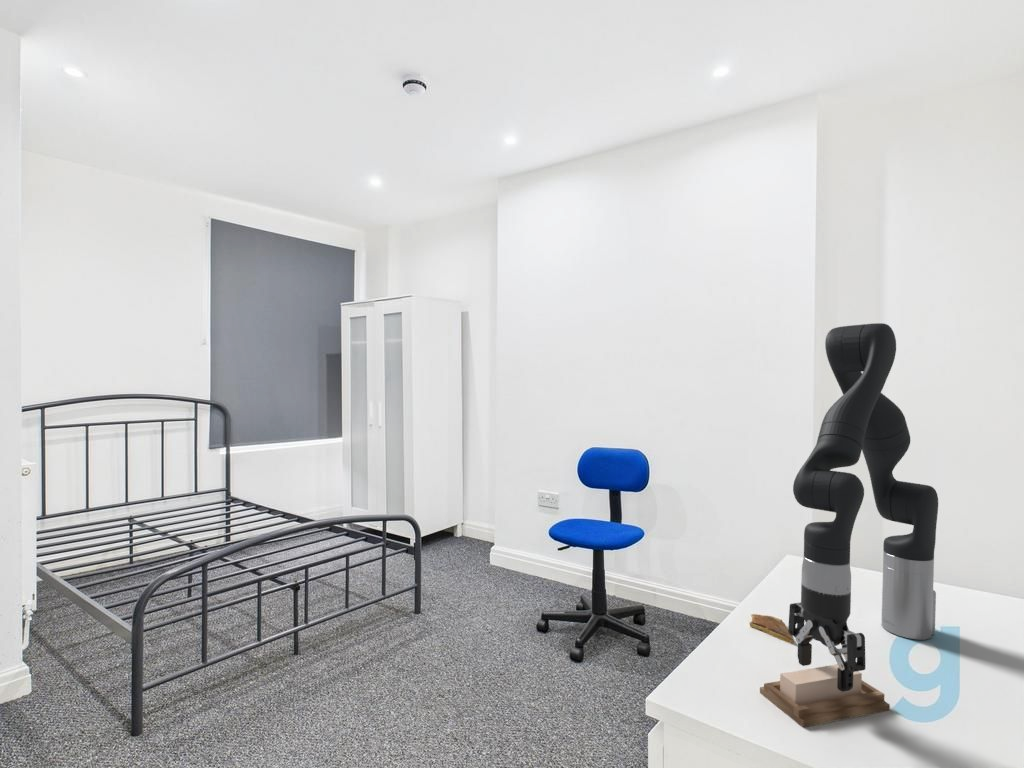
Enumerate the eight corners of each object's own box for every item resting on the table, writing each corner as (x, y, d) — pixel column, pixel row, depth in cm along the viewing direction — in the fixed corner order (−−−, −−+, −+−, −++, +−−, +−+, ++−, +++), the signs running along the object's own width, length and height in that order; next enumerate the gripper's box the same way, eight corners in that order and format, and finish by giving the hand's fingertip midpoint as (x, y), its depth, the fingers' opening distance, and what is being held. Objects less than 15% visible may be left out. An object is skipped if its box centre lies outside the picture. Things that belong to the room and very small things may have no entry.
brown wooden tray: (840, 678, 104) (840, 667, 104) (889, 710, 94) (889, 697, 94) (759, 692, 99) (760, 680, 99) (803, 727, 90) (803, 713, 90)
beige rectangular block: (844, 684, 100) (844, 663, 100) (861, 695, 97) (861, 673, 97) (779, 696, 96) (780, 673, 96) (795, 708, 93) (795, 684, 93)
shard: (793, 647, 117) (793, 638, 117) (754, 642, 119) (754, 634, 119) (781, 624, 128) (782, 616, 128) (746, 620, 129) (746, 612, 129)
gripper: (879, 598, 91) (877, 696, 91) (810, 568, 104) (809, 653, 105) (843, 603, 88) (840, 703, 89) (777, 572, 102) (776, 659, 103)
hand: (823, 676), depth 97 cm, fingers open, 8 cm apart
